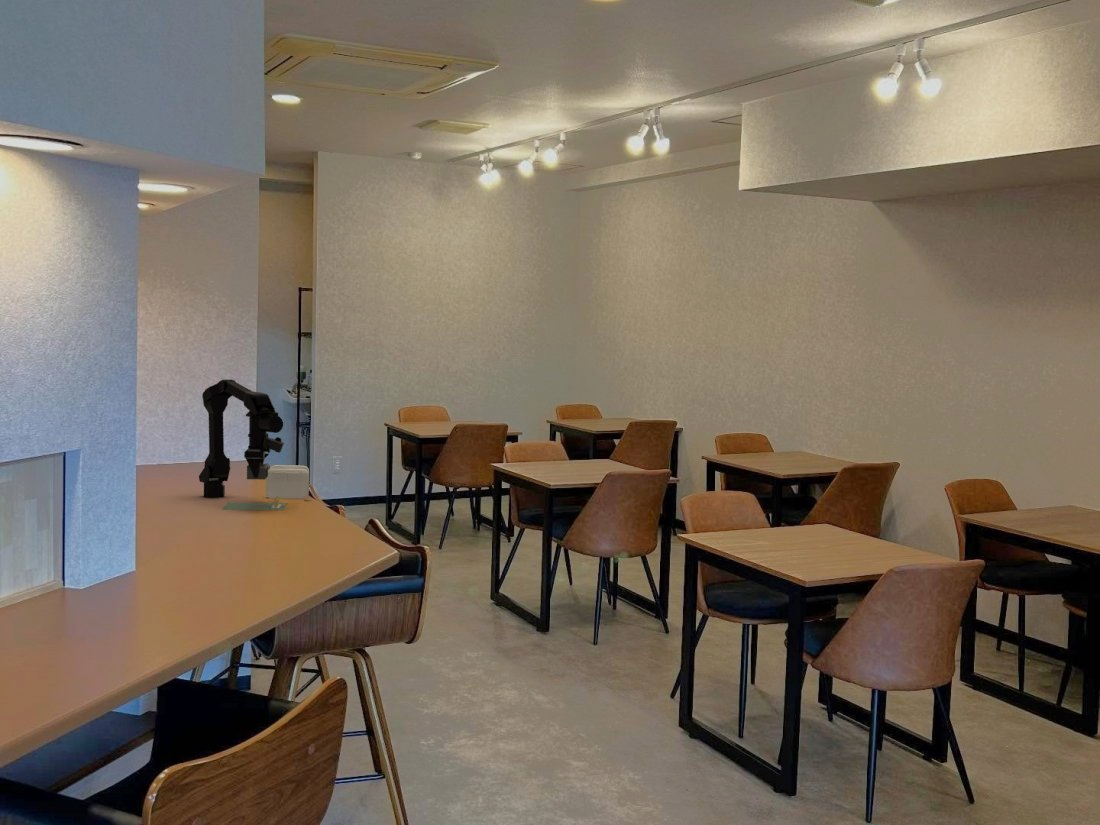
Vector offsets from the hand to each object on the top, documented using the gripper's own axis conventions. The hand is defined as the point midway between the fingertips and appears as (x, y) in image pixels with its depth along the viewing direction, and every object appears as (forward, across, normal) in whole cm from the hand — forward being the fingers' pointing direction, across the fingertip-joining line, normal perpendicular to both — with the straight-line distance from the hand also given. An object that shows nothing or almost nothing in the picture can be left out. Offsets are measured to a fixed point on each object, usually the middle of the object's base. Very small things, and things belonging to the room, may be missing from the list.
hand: (257, 476), depth 349 cm
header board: (+11, 0, +1) cm, 11 cm away
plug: (+1, 0, 0) cm, 1 cm away
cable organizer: (+12, +22, -8) cm, 26 cm away
